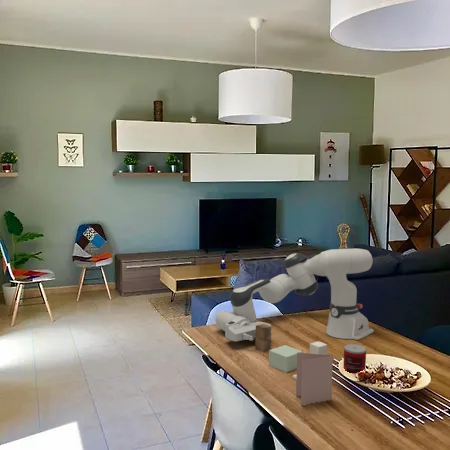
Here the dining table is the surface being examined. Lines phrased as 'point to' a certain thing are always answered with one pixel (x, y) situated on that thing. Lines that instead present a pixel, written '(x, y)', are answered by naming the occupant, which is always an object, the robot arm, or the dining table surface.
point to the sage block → (284, 358)
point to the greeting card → (314, 377)
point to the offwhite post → (318, 348)
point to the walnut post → (263, 337)
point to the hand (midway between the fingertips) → (261, 336)
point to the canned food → (354, 358)
